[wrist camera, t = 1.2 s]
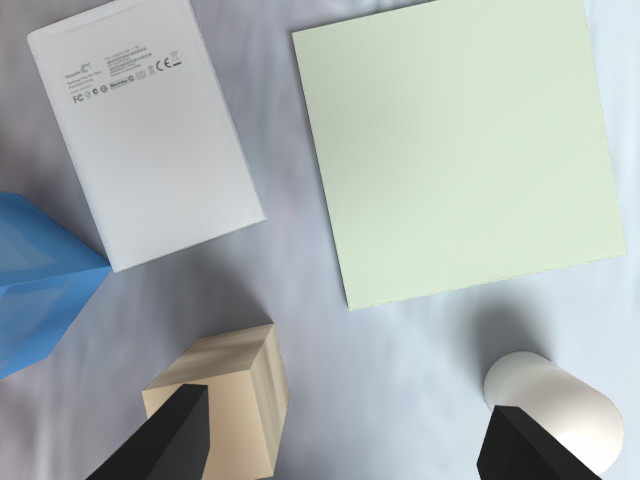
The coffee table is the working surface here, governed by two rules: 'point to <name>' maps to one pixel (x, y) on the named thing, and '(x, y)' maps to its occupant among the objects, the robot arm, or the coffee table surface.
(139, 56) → the external hard drive
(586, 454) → the ceramic cylinder
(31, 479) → the coffee table surface
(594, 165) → the sage mat
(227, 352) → the birch block
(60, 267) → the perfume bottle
